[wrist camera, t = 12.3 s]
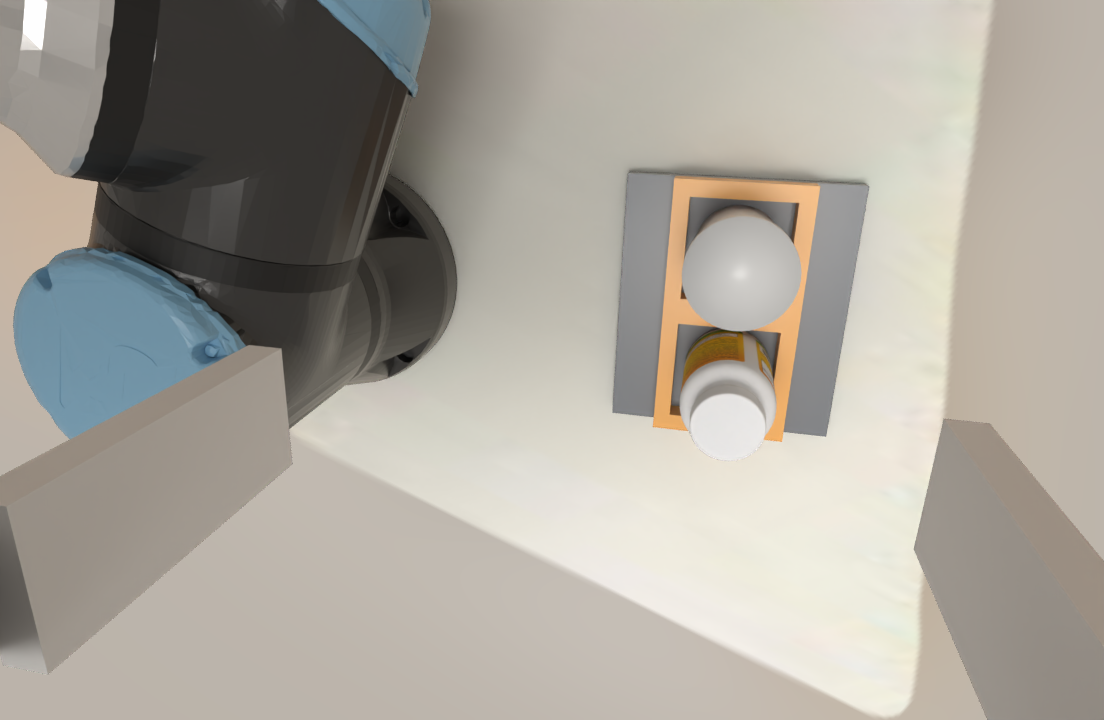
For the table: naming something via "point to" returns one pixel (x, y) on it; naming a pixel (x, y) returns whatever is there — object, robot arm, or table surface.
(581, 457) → the table surface
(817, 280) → the orange bottle caddy
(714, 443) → the supplement bottle
